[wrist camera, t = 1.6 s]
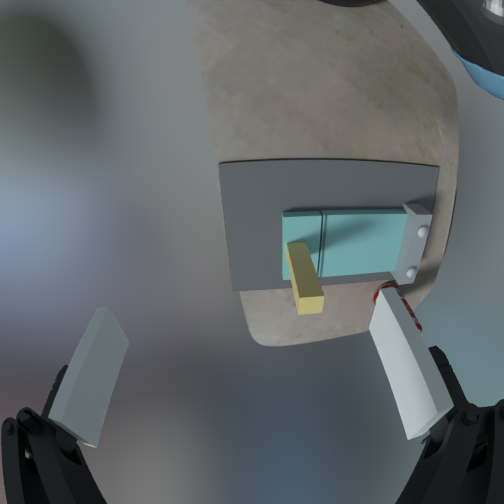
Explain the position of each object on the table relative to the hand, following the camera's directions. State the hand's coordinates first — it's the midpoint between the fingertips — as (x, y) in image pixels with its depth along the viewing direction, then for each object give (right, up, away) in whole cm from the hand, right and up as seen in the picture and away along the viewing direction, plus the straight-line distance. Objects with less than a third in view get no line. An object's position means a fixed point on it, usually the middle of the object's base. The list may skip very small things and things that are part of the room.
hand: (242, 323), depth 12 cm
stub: (+7, +4, +26) cm, 27 cm away
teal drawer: (+17, +5, +26) cm, 31 cm away
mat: (+13, +7, +25) cm, 29 cm away
